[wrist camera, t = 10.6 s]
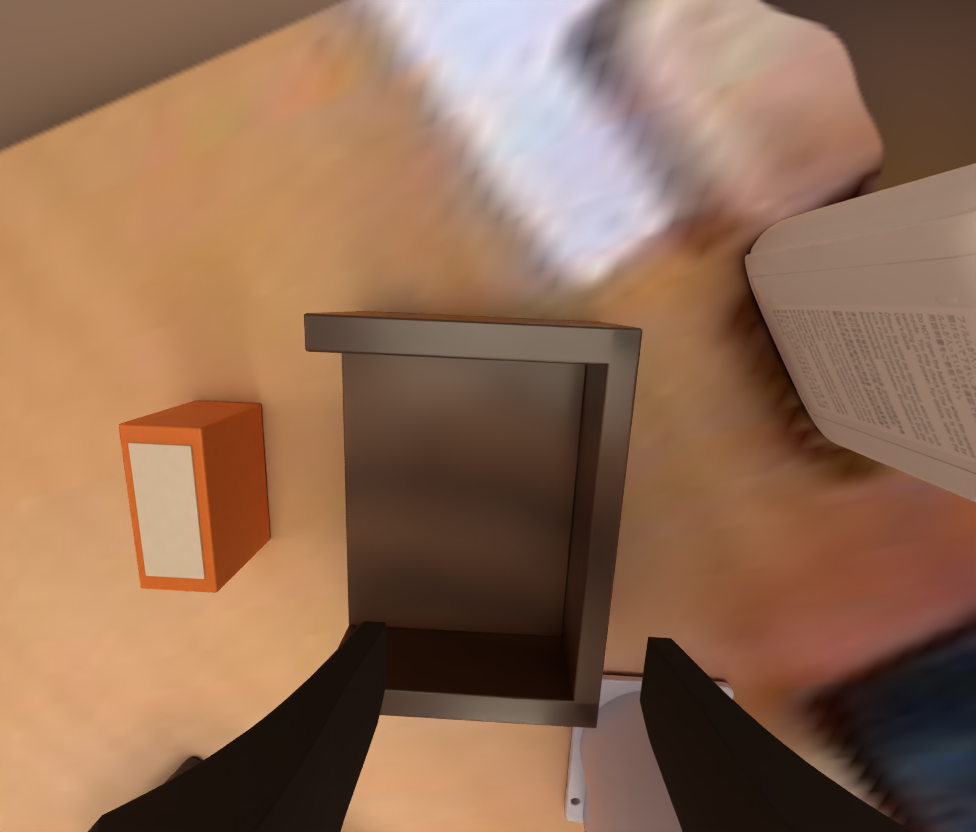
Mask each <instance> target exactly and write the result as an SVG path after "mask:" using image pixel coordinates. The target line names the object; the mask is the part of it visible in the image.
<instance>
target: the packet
mask: <svg viewBox="0 0 976 832" xmlns="http://www.w3.org/2000/svg"><path fill="white" fill-rule="evenodd" d="M119 432H120V439H121V446H122V453H123V461H124V468H125V475H126V482H127V490H128V497H129V504H130V511H131V518H132V526H133V533H134V540H135V547H136V555H137V562H138V569H139V576H140V584H141V588H144V589H162V590H179V591H196V592H214V593H215V592H218V591H219V590H220V589H221V588H222V587H223V586H224V585H225V584H226V583H227V582H228V581H229V580H230V579H231V578H232V577H233V576H234V575H235V574H236V573H237V572H238V571H239V570H240V569H241V568H242V567H243V566H244V565H245V564H246V563H247V562H248V561H249V560H250V559H251V558H252V557H253V556H254V555H255V554H256V553H257V552H258V551H259V550H260V549H261V548H262V547H263V546H264V545H265V544H266V543H267V542H268V541H269V540H270V532H269V517H268V502H267V487H266V472H265V457H264V442H263V427H262V413H261V404H252V403H232V402H212V401H193V402H189V403H186V404H183V405H180V406H176V407H173V408H170V409H167V410H163V411H160V412H157V413H154V414H150V415H147V416H144V417H141V418H137V419H134V420H131V421H127V422H124V423H121V424H119Z"/></svg>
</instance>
